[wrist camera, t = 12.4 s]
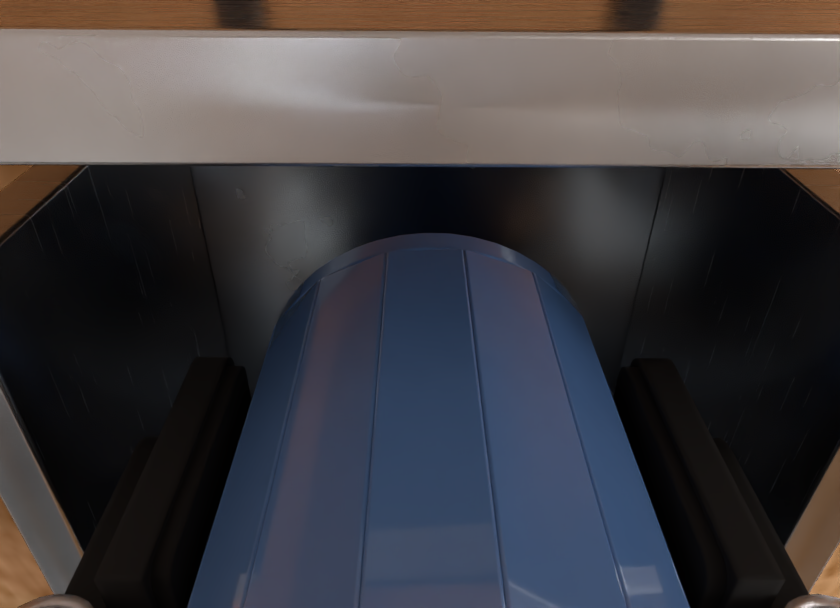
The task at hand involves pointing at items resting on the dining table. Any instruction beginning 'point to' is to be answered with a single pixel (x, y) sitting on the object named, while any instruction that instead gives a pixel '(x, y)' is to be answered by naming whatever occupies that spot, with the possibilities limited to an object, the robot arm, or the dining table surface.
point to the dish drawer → (415, 208)
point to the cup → (434, 448)
